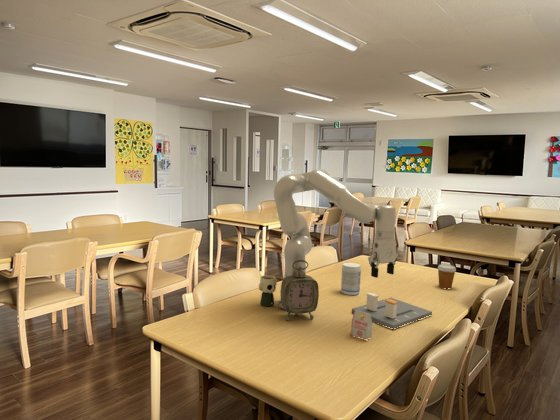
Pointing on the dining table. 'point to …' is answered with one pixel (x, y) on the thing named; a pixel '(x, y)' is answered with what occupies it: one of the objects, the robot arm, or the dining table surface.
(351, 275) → the supplement tub
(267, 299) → the character mug
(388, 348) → the dining table surface
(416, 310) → the panel
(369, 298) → the fader cream
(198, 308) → the dining table surface
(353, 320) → the tea bag
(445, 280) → the disposable coffee cup
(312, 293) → the tabletop clock
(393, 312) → the fader orange
